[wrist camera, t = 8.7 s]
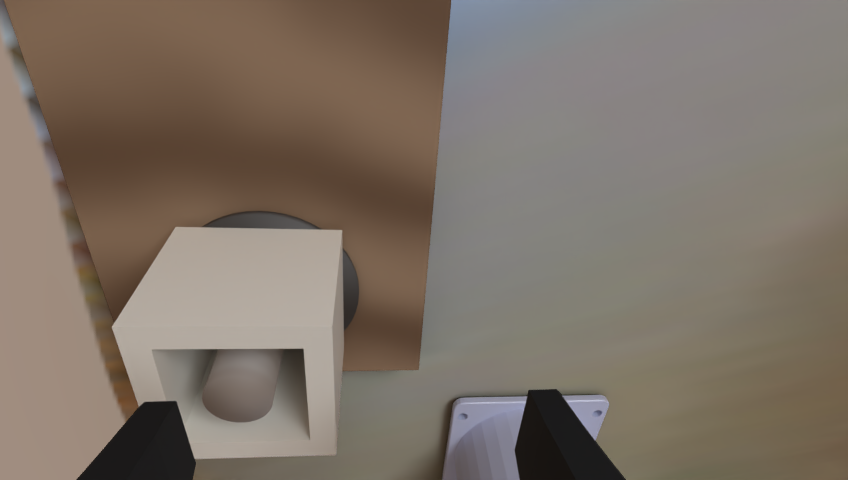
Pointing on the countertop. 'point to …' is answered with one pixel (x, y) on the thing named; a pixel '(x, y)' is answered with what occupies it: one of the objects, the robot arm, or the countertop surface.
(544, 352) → the countertop surface
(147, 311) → the collar
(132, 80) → the post board
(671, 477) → the countertop surface
